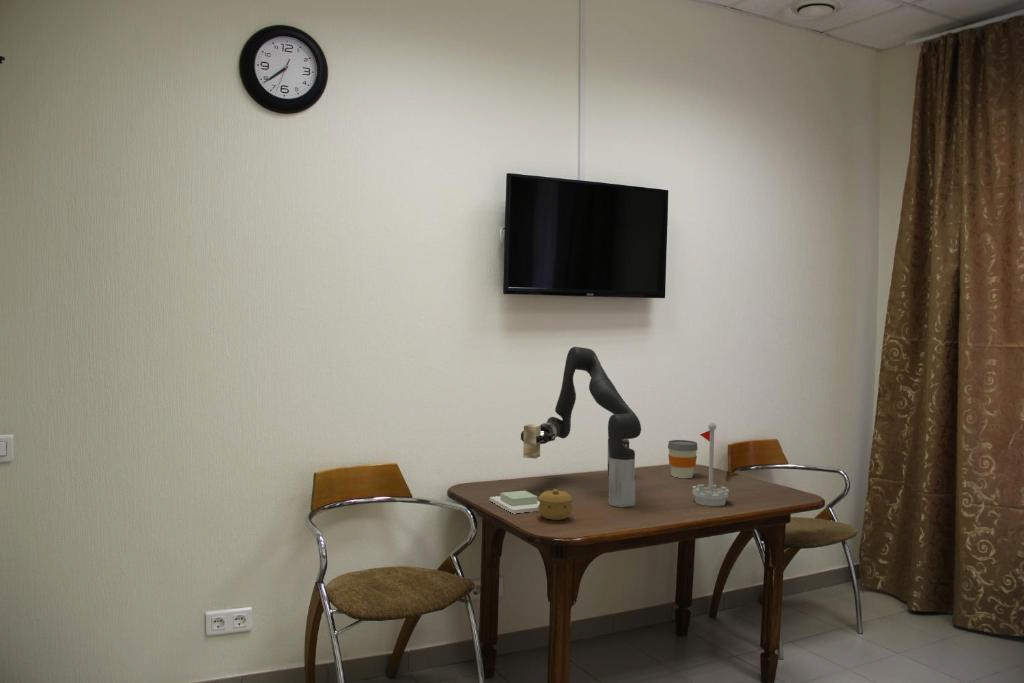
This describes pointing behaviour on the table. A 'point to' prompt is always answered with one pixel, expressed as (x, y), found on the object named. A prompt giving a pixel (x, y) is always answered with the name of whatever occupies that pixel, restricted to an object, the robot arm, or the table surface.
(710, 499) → the flag stand
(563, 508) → the pot
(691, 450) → the reusable coffee cup
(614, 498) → the robot arm
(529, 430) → the birch column
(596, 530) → the table surface
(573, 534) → the table surface
